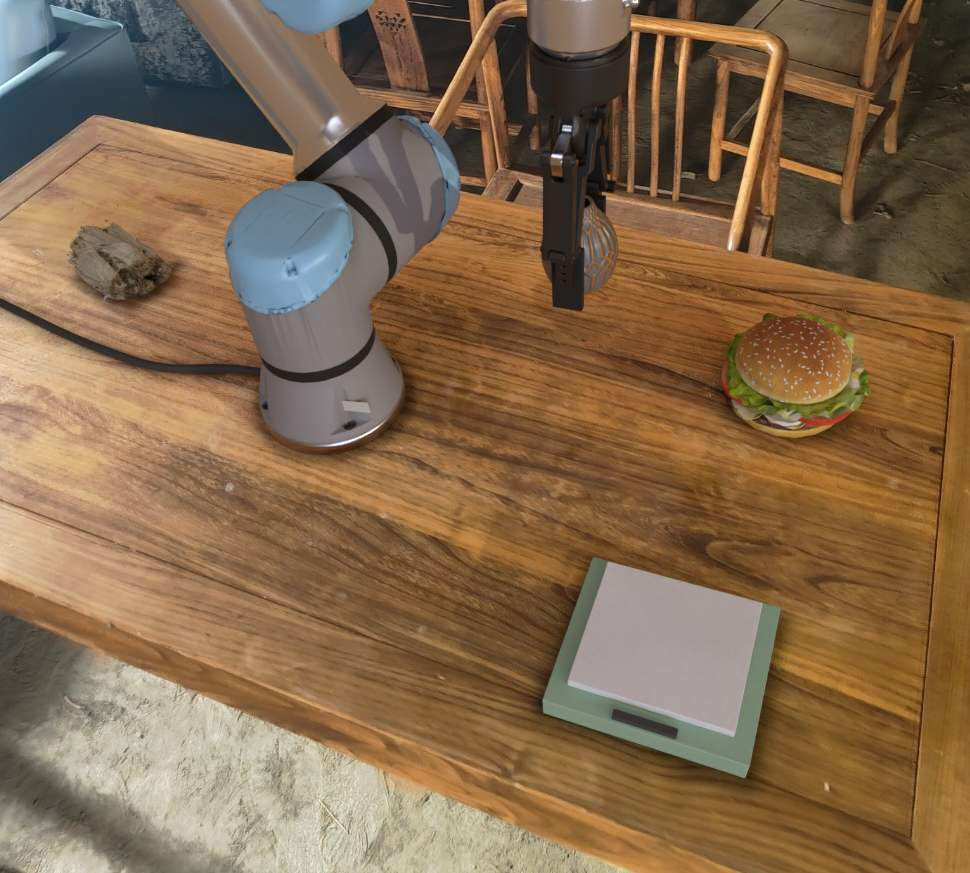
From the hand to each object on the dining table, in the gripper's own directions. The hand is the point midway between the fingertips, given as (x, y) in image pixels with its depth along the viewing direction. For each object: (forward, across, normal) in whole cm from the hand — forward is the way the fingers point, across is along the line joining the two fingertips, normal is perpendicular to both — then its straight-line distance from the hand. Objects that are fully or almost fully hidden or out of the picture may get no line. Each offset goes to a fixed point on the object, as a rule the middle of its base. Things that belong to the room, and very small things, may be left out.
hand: (579, 279), depth 85 cm
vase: (0, 0, 0) cm, 0 cm away
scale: (+15, -28, -15) cm, 35 cm away
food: (+15, +5, -21) cm, 26 cm away
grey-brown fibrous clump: (+15, +4, +59) cm, 61 cm away
